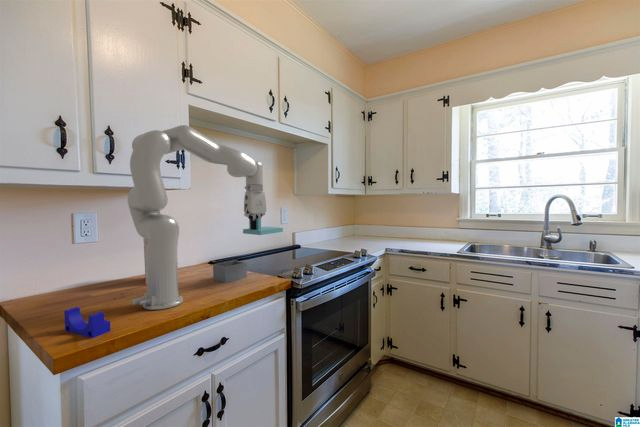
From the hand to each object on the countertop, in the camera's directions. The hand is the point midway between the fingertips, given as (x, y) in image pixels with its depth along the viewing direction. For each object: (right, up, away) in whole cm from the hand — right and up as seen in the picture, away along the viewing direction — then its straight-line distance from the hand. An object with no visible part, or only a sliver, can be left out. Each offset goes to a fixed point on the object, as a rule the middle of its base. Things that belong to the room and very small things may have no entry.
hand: (255, 228), depth 134 cm
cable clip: (-35, -26, -52) cm, 69 cm away
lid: (+3, -2, +4) cm, 6 cm away
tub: (-12, -23, +3) cm, 27 cm away
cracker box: (-46, -24, -1) cm, 52 cm away
